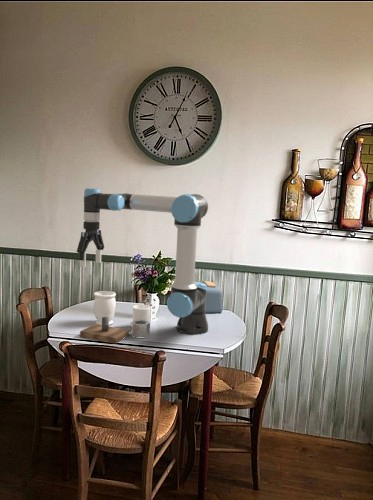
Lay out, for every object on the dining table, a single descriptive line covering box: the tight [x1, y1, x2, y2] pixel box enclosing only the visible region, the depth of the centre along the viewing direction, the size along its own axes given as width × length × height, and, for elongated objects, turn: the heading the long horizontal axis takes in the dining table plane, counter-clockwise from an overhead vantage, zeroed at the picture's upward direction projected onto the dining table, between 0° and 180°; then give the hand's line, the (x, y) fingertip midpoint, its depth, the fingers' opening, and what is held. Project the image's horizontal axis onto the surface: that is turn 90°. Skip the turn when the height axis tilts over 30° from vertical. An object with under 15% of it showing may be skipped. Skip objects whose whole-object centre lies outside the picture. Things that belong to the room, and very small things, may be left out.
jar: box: [93, 290, 117, 326], centre depth 224 cm, size 11×10×15 cm
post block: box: [79, 317, 130, 344], centre depth 206 cm, size 18×12×8 cm, turn 69°
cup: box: [132, 304, 152, 323], centre depth 223 cm, size 8×12×10 cm
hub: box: [130, 320, 151, 338], centre depth 210 cm, size 8×8×6 cm
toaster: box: [201, 280, 224, 314], centre depth 257 cm, size 16×16×16 cm
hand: (90, 264), depth 224 cm, fingers open, 13 cm apart
